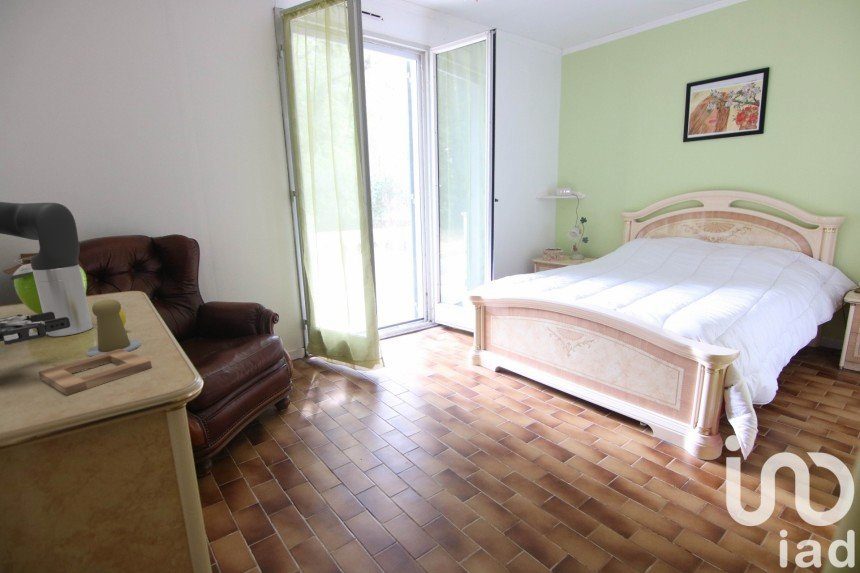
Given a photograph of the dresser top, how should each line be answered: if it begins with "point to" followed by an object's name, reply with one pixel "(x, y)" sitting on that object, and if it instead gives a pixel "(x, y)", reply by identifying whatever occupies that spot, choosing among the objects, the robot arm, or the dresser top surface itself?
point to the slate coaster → (133, 345)
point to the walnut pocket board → (72, 384)
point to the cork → (110, 326)
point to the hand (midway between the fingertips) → (61, 318)
